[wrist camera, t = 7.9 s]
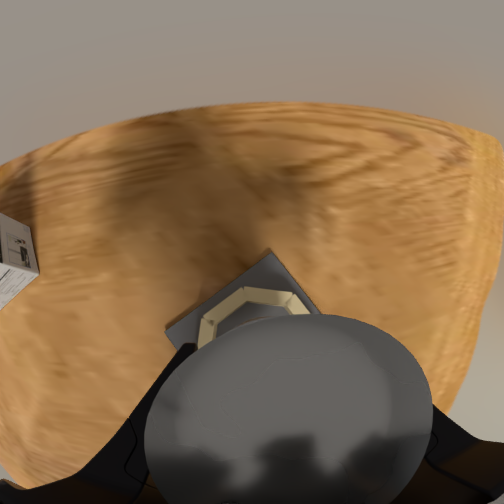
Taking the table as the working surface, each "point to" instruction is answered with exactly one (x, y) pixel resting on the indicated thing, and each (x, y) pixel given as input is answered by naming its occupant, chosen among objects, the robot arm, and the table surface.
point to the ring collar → (243, 304)
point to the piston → (291, 416)
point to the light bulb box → (15, 258)
